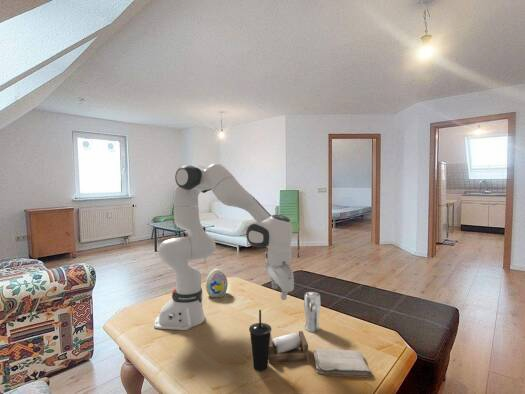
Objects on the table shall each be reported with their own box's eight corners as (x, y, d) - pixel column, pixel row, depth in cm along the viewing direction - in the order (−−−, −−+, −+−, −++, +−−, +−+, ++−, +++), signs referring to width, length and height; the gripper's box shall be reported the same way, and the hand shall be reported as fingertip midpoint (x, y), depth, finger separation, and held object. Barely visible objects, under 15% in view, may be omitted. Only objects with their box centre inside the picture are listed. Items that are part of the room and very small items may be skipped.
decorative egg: (205, 300, 150) (205, 273, 149) (205, 291, 162) (205, 266, 161) (228, 298, 152) (228, 271, 151) (226, 289, 164) (226, 265, 163)
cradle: (268, 363, 97) (268, 346, 97) (266, 347, 106) (266, 332, 106) (307, 361, 98) (307, 344, 98) (302, 346, 107) (302, 331, 107)
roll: (280, 353, 97) (276, 337, 99) (274, 354, 101) (271, 338, 103) (302, 347, 101) (298, 331, 103) (296, 348, 105) (292, 333, 107)
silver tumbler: (310, 322, 125) (310, 290, 124) (323, 328, 120) (323, 294, 119) (300, 328, 120) (300, 294, 119) (314, 334, 115) (314, 299, 114)
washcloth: (312, 354, 103) (312, 346, 103) (361, 355, 102) (361, 347, 102) (316, 376, 91) (316, 367, 91) (372, 378, 90) (372, 369, 90)
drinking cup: (249, 360, 99) (248, 305, 98) (270, 358, 100) (269, 304, 98) (249, 375, 91) (249, 316, 90) (272, 373, 92) (272, 315, 91)
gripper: (299, 266, 95) (297, 305, 96) (278, 250, 115) (277, 282, 116) (281, 268, 93) (281, 307, 94) (263, 251, 113) (263, 284, 114)
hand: (278, 293), depth 105 cm, fingers open, 8 cm apart
